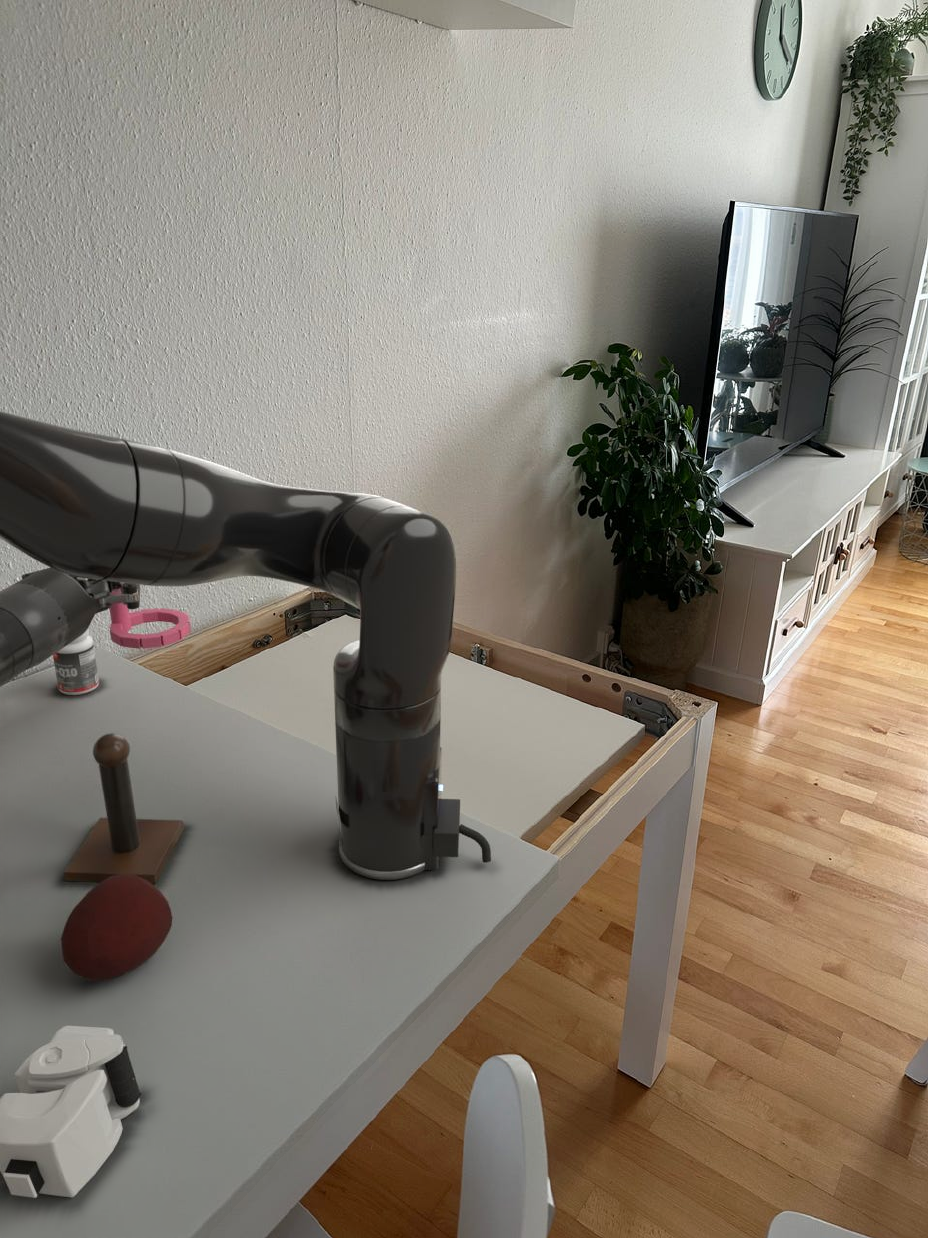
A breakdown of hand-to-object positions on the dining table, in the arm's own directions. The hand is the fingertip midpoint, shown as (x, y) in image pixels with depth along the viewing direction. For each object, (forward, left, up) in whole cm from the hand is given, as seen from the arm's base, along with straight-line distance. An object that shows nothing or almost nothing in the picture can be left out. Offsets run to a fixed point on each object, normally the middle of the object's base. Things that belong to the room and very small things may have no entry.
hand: (127, 562), depth 100 cm
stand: (-8, +28, -18) cm, 34 cm away
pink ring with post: (-3, +4, -7) cm, 8 cm away
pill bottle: (+10, -4, -19) cm, 22 cm away
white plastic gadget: (-15, +50, -15) cm, 55 cm away
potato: (-13, +41, -19) cm, 47 cm away
